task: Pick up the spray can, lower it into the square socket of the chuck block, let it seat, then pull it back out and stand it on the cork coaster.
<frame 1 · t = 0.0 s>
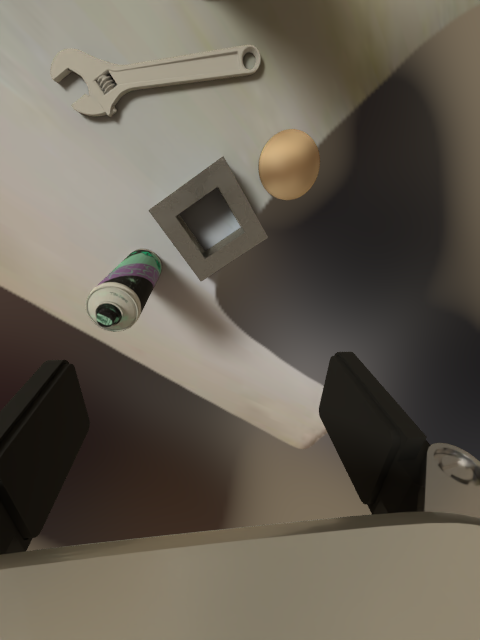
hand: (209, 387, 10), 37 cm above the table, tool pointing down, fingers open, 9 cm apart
adjustable wrench: (161, 83, 35), on the table
spray can: (145, 265, 45), on the table
coaster: (288, 166, 40), on the table
chuck block: (210, 220, 43), on the table
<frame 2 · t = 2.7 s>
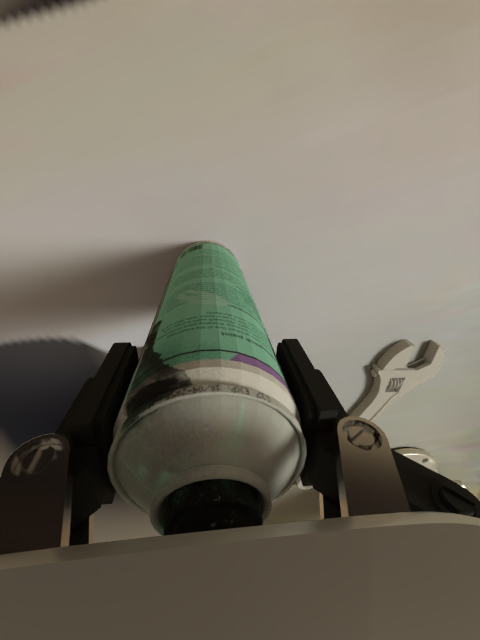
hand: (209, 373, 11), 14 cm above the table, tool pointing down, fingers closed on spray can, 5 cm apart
adjustable wrench: (349, 413, 33), on the table
spray can: (207, 273, 23), on the table, touching gripper
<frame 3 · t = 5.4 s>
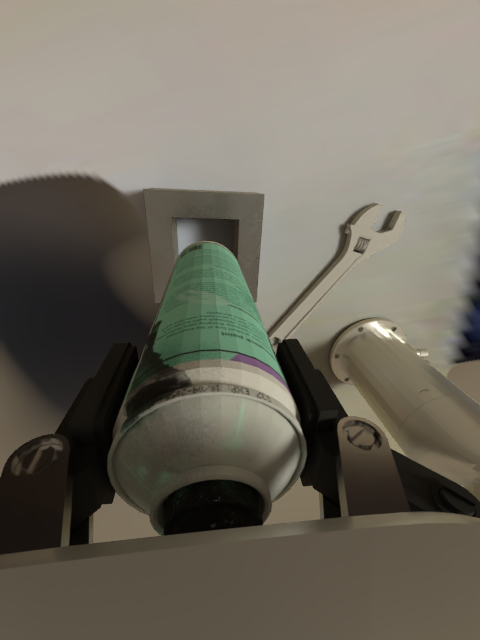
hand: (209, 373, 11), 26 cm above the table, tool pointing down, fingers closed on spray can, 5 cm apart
adjustable wrench: (320, 277, 39), on the table
spray can: (207, 273, 23), point 13 cm above the table, touching gripper
chuck block: (206, 243, 34), on the table
when the fingers open (14 cm above the table, at t = 8.4 s): spray can stays where it is, resting in chuck block.
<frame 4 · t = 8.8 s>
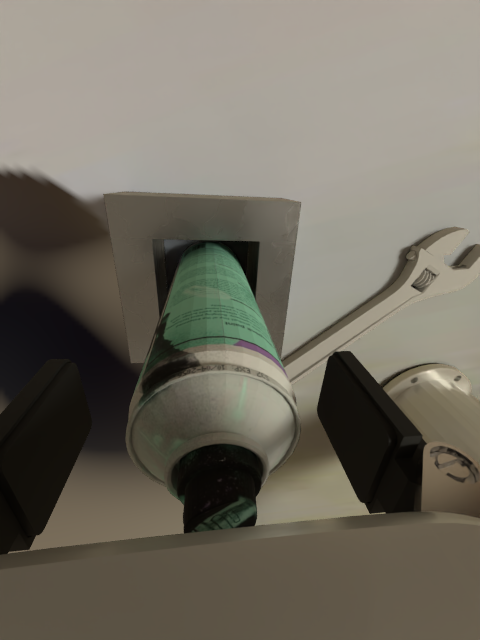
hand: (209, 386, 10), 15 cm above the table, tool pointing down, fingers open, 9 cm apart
adjustable wrench: (354, 311, 28), on the table
spray can: (209, 271, 24), resting in chuck block
chuck block: (207, 270, 24), on the table
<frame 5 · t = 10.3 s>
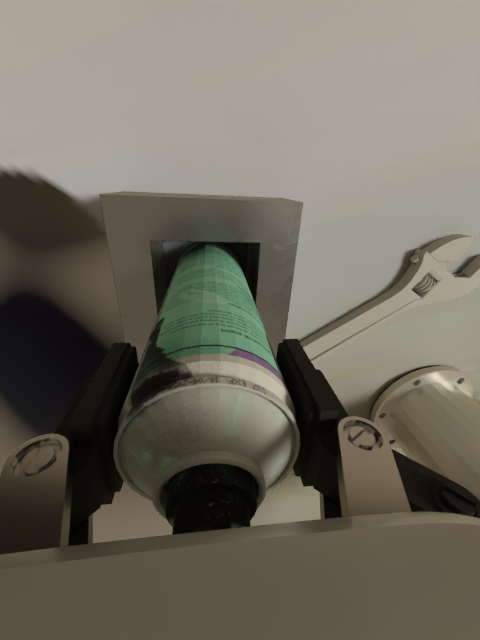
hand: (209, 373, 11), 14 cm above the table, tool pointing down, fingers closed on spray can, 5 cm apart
adjustable wrench: (352, 311, 27), on the table
spray can: (209, 272, 24), resting in chuck block, touching gripper
chuck block: (206, 272, 23), on the table
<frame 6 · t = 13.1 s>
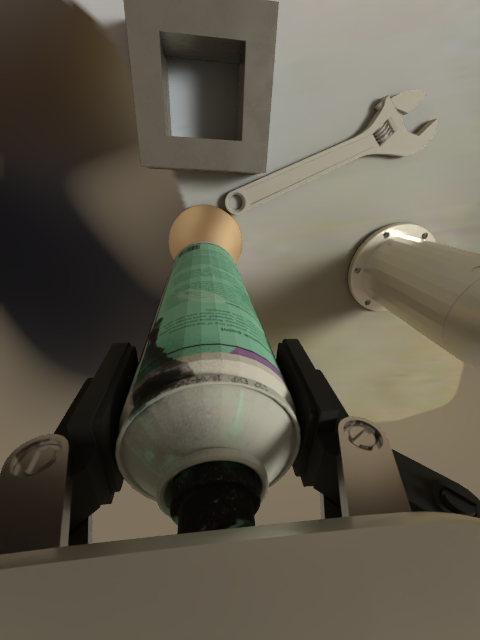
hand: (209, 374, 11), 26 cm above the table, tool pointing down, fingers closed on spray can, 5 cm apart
adjustable wrench: (322, 154, 32), on the table
spray can: (204, 272, 24), point 12 cm above the table, touching gripper
coaster: (205, 243, 34), on the table
chuck block: (204, 105, 28), on the table
when the fingers open (16 cm above the table, at t = 15.8 s): spray can stays where it is, resting on coaster.
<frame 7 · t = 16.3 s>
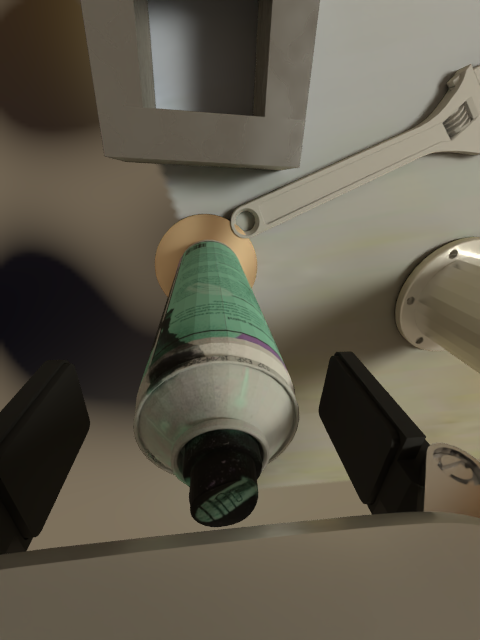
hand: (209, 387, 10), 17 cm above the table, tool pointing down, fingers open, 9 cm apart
adjustable wrench: (367, 153, 23), on the table
spray can: (209, 270, 24), point 1 cm above the table, touching coaster
coaster: (207, 266, 25), on the table
chuck block: (204, 66, 19), on the table
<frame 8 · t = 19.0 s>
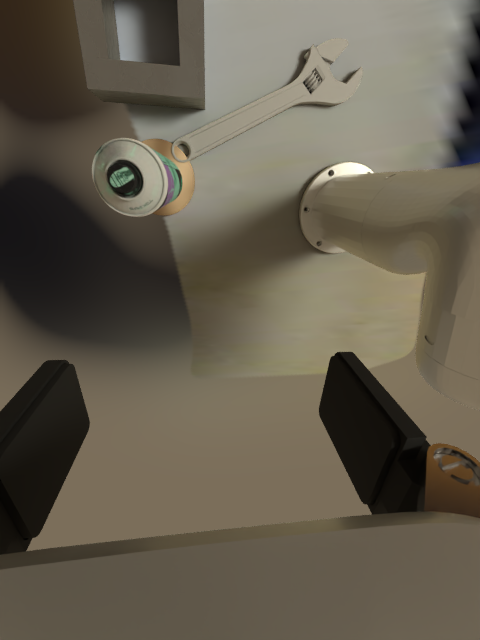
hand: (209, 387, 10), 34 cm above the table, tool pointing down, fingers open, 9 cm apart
adjustable wrench: (260, 105, 35), on the table
spray can: (162, 180, 36), point 1 cm above the table, touching coaster
coaster: (160, 179, 37), on the table
chuck block: (150, 39, 31), on the table
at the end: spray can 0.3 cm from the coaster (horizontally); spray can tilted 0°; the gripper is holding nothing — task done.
